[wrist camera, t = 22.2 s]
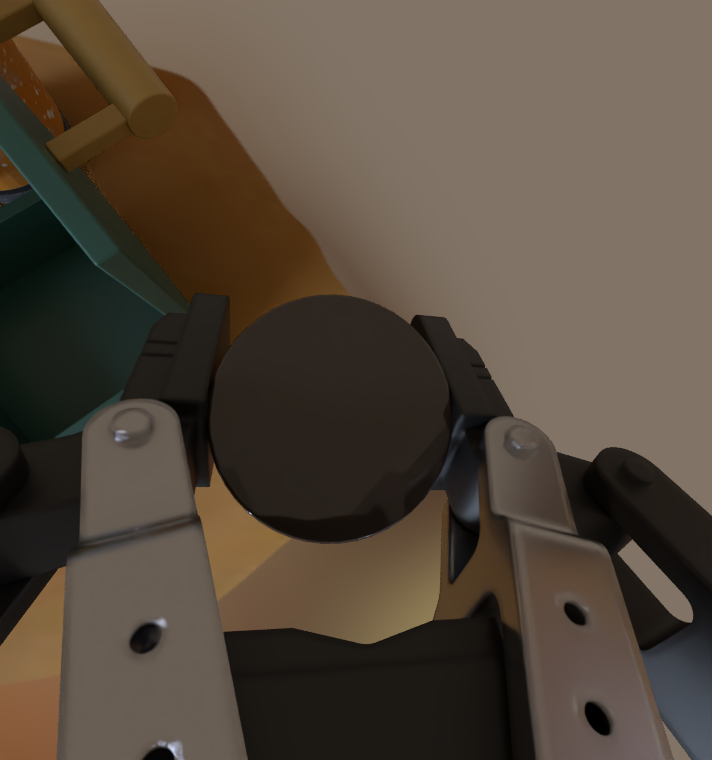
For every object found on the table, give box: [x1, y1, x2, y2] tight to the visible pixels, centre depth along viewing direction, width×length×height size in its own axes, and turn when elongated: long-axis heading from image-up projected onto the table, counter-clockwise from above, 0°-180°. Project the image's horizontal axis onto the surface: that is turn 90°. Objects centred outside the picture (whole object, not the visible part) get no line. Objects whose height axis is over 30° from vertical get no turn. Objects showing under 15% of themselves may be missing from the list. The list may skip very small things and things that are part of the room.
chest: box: [0, 189, 165, 444], centre depth 28 cm, size 15×14×7 cm
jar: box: [207, 295, 452, 544], centre depth 13 cm, size 4×4×12 cm
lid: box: [0, 0, 190, 315], centre depth 19 cm, size 15×14×5 cm
